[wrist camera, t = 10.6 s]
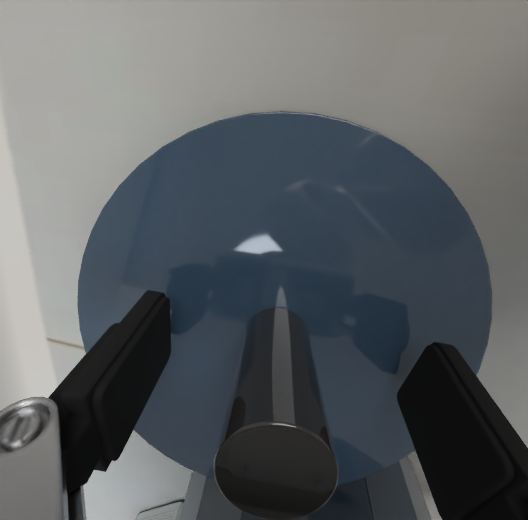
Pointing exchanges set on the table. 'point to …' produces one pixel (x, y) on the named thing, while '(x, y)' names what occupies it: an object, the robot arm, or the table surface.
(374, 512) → the pot
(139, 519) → the white packaging box
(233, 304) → the pot lid
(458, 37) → the table surface
